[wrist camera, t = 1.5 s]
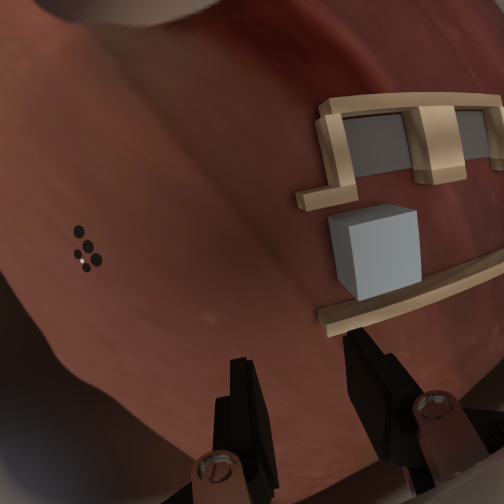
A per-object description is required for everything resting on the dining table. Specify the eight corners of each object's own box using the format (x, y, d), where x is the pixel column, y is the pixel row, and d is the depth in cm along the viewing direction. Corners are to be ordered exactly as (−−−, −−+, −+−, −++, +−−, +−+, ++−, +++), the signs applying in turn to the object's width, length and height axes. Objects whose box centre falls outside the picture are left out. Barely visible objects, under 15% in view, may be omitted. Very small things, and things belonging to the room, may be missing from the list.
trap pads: (331, 122, 23) (331, 121, 22) (480, 111, 23) (481, 111, 22) (343, 179, 24) (344, 179, 24) (488, 156, 24) (490, 156, 24)
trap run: (276, 113, 22) (282, 105, 19) (508, 100, 22) (526, 98, 19) (318, 321, 27) (327, 337, 24) (523, 248, 27) (539, 255, 24)
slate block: (327, 216, 25) (348, 226, 20) (385, 203, 25) (416, 210, 20) (337, 278, 26) (358, 301, 21) (392, 263, 26) (421, 281, 21)
